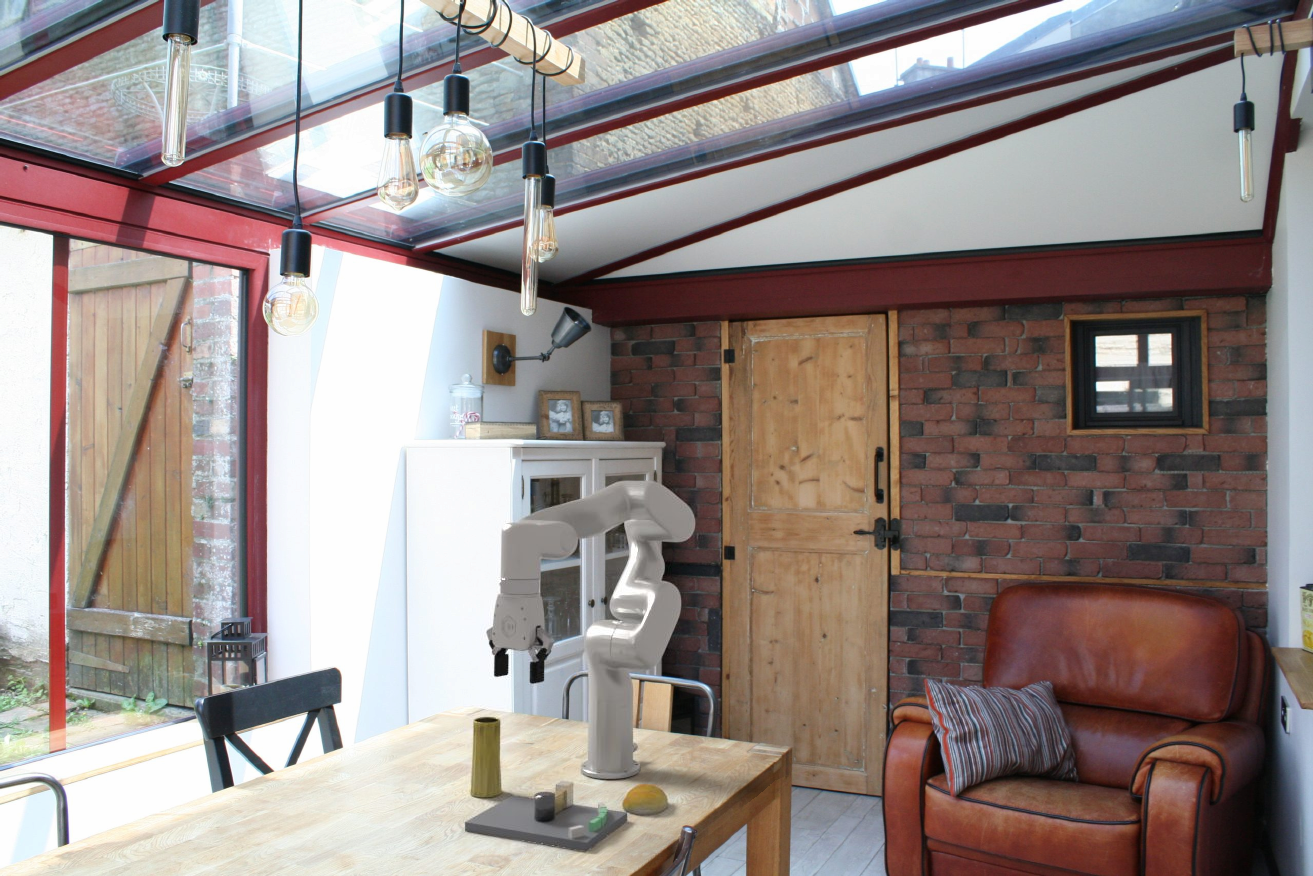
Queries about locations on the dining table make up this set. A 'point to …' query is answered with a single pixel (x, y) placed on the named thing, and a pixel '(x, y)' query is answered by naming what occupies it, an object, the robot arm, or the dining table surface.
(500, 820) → the grey flat slab
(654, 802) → the bread roll
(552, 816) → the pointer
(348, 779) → the dining table surface
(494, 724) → the vase
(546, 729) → the dining table surface
